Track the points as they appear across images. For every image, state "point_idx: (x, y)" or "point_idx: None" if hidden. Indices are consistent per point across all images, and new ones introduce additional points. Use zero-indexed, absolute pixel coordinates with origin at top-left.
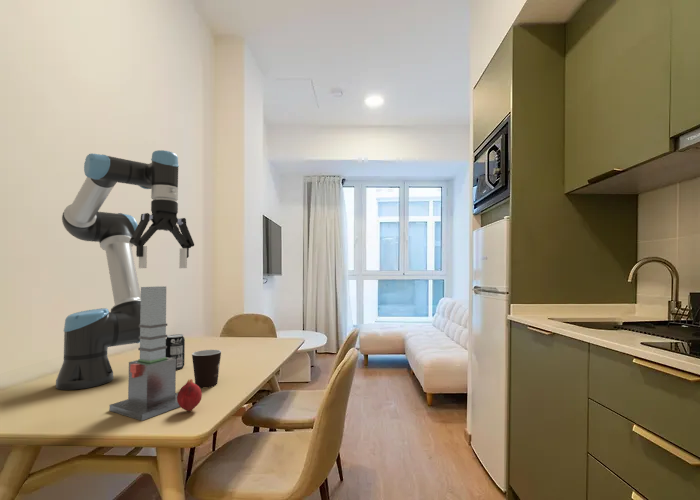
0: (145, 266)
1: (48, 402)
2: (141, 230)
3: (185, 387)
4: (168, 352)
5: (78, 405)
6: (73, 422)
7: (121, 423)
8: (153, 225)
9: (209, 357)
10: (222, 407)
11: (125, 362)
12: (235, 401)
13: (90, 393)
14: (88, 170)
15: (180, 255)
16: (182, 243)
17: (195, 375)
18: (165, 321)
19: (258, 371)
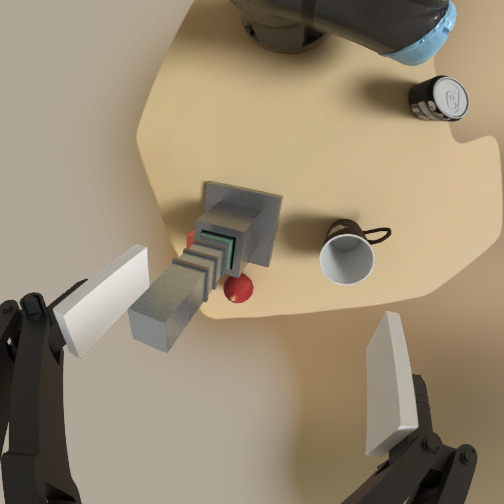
0: (140, 289)
1: (202, 65)
2: (2, 401)
3: (226, 295)
4: (418, 97)
5: (208, 118)
6: (173, 174)
7: (191, 230)
8: (25, 501)
9: (328, 275)
10: (266, 305)
11: None
12: (288, 310)
13: (250, 78)
14: None
15: (391, 382)
16: (369, 481)
17: (327, 234)
18: (201, 302)
19: (426, 277)
